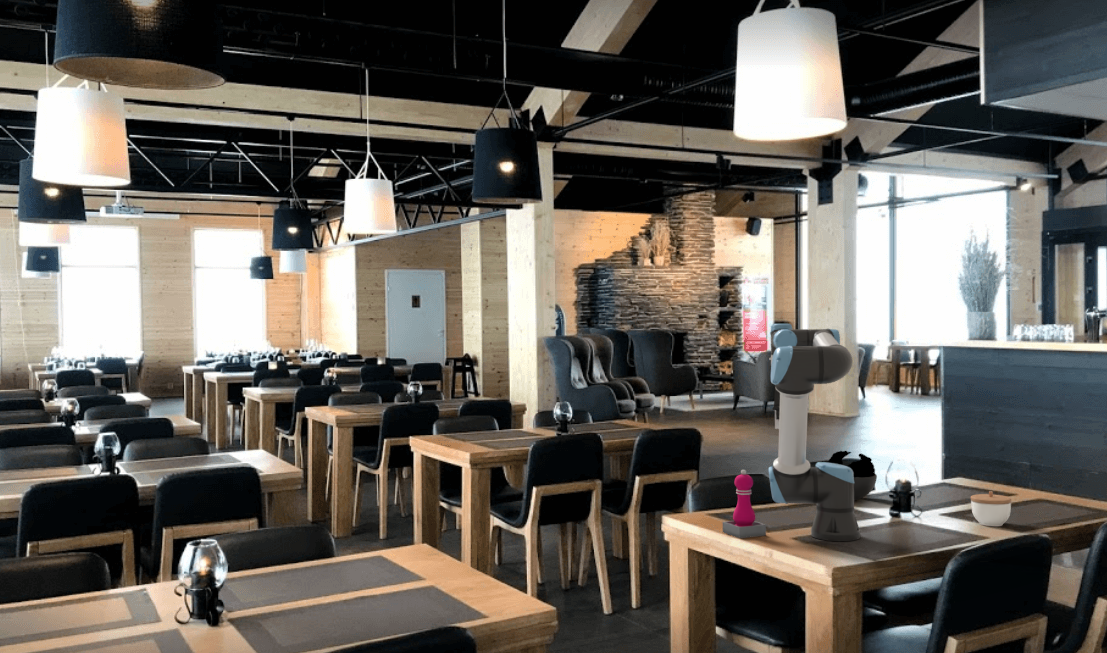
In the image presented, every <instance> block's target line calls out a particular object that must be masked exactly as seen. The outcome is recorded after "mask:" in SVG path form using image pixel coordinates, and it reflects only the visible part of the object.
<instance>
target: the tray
mask: <svg viewBox="0 0 1107 653" xmlns="http://www.w3.org/2000/svg"><path fill="white" fill-rule="evenodd" d="M735 525H736V522H735V521H734V520H729V521H727V520H726V521H722V533H723V532H724V533H723V534H726V533H727V534H726V535H730V536H731V535H732V537H734V536H735V538H738V539H745V538H755V537H763V536H767V535H766V534H767V529H766V528H767V526H766V524H765V523H762V522H759V521H756V520H755V521H754V522H753V523H752V525H754V526H745V527H738V526H735Z"/></svg>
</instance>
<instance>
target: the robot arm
mask: <svg viewBox="0 0 1107 653" xmlns="http://www.w3.org/2000/svg"><path fill="white" fill-rule="evenodd" d="M769 334H770V357H769V361H770V366H771V367H770V382H771V384H773V385H774V400H773V407H772V411H774V430H775V429H776V430H778V451H777V452H778V455H777V456H778V457H777V458H775V459H774V460H773V465H772V466H769V467H768V477H769V483H770V485H769V486H770V491H771V497H772V500H773V501H774V502H775V503H777V504H778V503H779V504H785V505H788V504H808V505H809V504H815V505H816V513H815V515H814V518H813V523H812V526H811V529H810V536H811V537H813V538H816V539H817V540H822V541H829V542H830V541H831V542H850V541H856V540H858V539H860V538H861V530H860V528H859V524H858V521H857V517H856V515H855V500H854V475H853V470H852V469H851V468H849V467H847V466H848V465H844V464H843V465H840V464H834V463H828V462H825V461H823V462H822V461H818V462H816V463H815V466H814V467H813V466H811V462H810V461H809V460H807V438H808V437H807V436H808V435H807V434H808V411H809V395H810V394H811V393H812V392H814V387H815V385H826V384H831V383H835V382H838V381H840V380H841V379H843V378H845V376H846V375H847V376H848V373H849V372H850V370H851V369H852V367H853V356H852V354H851V352H850V351H849V350H848V348H846V347H845V346H843V345H841V336H840V331H839V330H838V329H836V328H834V329H833V328H819V329H818V328H816V329H815V328H814V329H810V328H807V329H806V328H805V329H803V328H802V329H794V328H793V326H792V324H791V323H772V324H771V325H770V332H769Z"/></svg>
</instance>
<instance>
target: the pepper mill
mask: <svg viewBox="0 0 1107 653" xmlns="http://www.w3.org/2000/svg"><path fill="white" fill-rule="evenodd" d="M740 473H741V474H739V475H736V477H735V478H734V486H735V487H736V490H735V491H736V492H735V494H737V504H736V507H735V508H734V511H733V514H732V519H733V520H732V521H735V522H736V525H735V526H738V527H745V526H754V525H752V523H753V522H754V521H756V512H755V510H754V508H753V506H752V503H751V495H752V490H753V489H751V488H752V487H753V485H754V480H753V477H752V476H750V475H749V474H747V470H746V469H741V470H740Z"/></svg>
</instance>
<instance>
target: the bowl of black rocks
mask: <svg viewBox="0 0 1107 653" xmlns="http://www.w3.org/2000/svg"><path fill="white" fill-rule="evenodd" d="M850 454H852V452H851V451H847V450H840V451H835V452H833V454H832V455H831V457H830V458H829V460H828V462H827V463H834V464H840V465H844V463H843V459H844V458H845V457H847V456H848V455H850ZM858 457H859V458H860V459H859V460H856V461H852V462H851V463H850V464H848V465H846V466H847V467H849V468H851V469H852V470H853V475H854V501H857V500H858V501H859V500H861V499H863V498H865V497H867V496H868V495H869V494H870V493H871V492H872V491H873V489H874V488H875V485H876V482H877V478H878V476H877V474H876V469H875V465H874V463H873V462H872V461H873V460H872V458H871V457H869V456H867V455H865V454H863V453H859V454H858Z"/></svg>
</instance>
